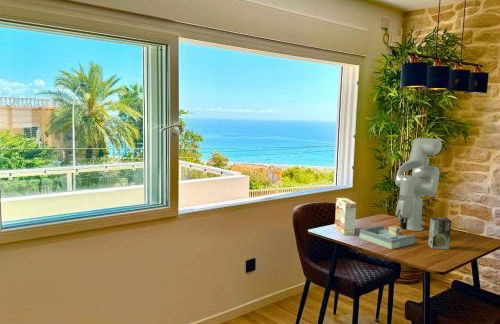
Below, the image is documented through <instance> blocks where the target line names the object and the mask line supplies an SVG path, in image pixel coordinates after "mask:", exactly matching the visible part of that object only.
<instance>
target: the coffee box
mask: <svg viewBox="0 0 500 324" xmlns="http://www.w3.org/2000/svg"><path fill="white" fill-rule="evenodd" d="M451 228H452V220H451V219H450V218H449V217H439V216H438V217H435V216H430V219H429V229H428V230H429V231H428V243H427V245H428V246H429V247H430V248H431V249H437V250H441V249H442V250H450V242H451V241H450V240H451V231H452V230H451Z"/></svg>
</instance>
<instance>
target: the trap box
mask: <svg viewBox="0 0 500 324" xmlns="http://www.w3.org/2000/svg"><path fill="white" fill-rule="evenodd" d="M388 231H389V229H386V228H385V225H383V224H382V225H377V226H371V227H370V226H369V227H366V228H360V229H359V239H361V240H363V241H364V240H365V241H367V242H370V243H373V244H376V245H379V246H381V247H383V248H387V249H390V250H393V249H398V248H401V247H402V248H403V247H406V246H411V245H414V244H415V242H416V235H415V234H411V235H410V234H409V235H405V234H402V233H401V235H397V236H395V235H392V234H389V233H388Z"/></svg>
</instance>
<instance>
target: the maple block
mask: <svg viewBox="0 0 500 324" xmlns="http://www.w3.org/2000/svg"><path fill="white" fill-rule="evenodd" d="M388 230H389V231H388V233H389V234H392V235H395V236H397V235H401V234H402V230H403V229H402V228H401V227H400V226H396V225H391V226H388Z"/></svg>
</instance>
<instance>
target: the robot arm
mask: <svg viewBox="0 0 500 324" xmlns="http://www.w3.org/2000/svg"><path fill="white" fill-rule="evenodd" d="M442 147H443V143H442V140H441V139H439V138H428V137H427V138H426V137H418V138H415V139H414V140H413V141H412V147H411V150H410V154H409V157H408V160H407V161H405V162H404V163H403V164H402V165H400V167H399V168H398V170H397V173H396V176H395V179H394V181H395V185H396V187H399V195H398V196H399V197H398V200H397V205H396V210H395V216H396V217H397V220H399V222H400V226H399V227H401V228H402V230H407V231H413V232H421V231H424V227H423V226H422V225H425V221H423V220H422V219H423V218H422V216H423V205H424V202H423V199H422V198H421V196H422V197H430V198H431V197H434V196H435V195H436V194H437V190H438V186H439V179H440V169H439V167H438V166H436V165H429V163H430V159H429V157H428V156H436V155H437V154H438V153H440V151H441V149H442ZM411 170H412V172H411V175H406V174H405V173H406V172H408V171H411Z"/></svg>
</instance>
